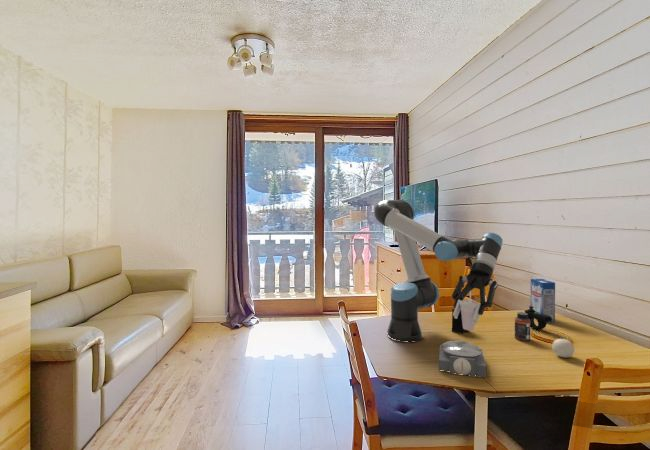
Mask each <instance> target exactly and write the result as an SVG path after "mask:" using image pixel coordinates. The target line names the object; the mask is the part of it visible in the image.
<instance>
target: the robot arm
mask: <svg viewBox="0 0 650 450" xmlns="http://www.w3.org/2000/svg"><path fill="white" fill-rule="evenodd" d="M373 213H374V217H375V220H377V222H378V223H380V224H381V225H383V226H384V227H386V228H389V229H390V230H391V231H393V232H394V234H395V238H396V241H397V244H398V247H399V251H400V252H399V253H400V255H401V260H402V262H403V265H404V269H405V273H406V276H407V279H406V282H400V283H396V284H394V285H393V286H392V287H391V291H390V312H391V313H390V316H391V317H390V318H391V319H390V322H389V325H388V328H387V333H388V334H387V336H388V335H389V336H390V337H391V338H393V339H396V340H400V341H408V342H410V343H413V342H412V341H417V342H419V341H421V340H422V339H423V333H422V329H421V327H420V323H419V320H418V319H419V318H418V316H419V315H418V314H419V313H418V312H419V311H420V310H424V309H426V308H430V307H432V306H433V305H435V304H436V303H437V302H438V300H439V298H440V289H439V287H438V285H437V284H435V283H434V281H432V280H431V276H430V275H428V274H426V270H425V267H424V264H423V261H422V258H421V255H420V251H419V248H418V244H419V245H421V246H423V247H424V248H426V249H428V250H430V251H432V252H433V253H434V255H435V256H436V258H437V259H438V260H439V261H444V262H445V261H447V262H450V261H454V260H457V259H463V258H474V261H473V262H472V265H471V268H470V270H469V274H468V275H467V276H462V275H459V276H458V282H457V284H456V286H455V287H454V290H453V292H452V294H451V298H452V300H453V301H454V303H453V309H455V310H454V312H453V316H454V318H455V319H457V317H458V315H459V312H460V310H461V306H460V304H459V303H460V301H461V300H465V298H466V297H467V296H468V295H469V294H470V291H471V292H472V290H474V289H477V290H479V301H480V302H479V304H478V305H477V307H476V310H475V313H474V316H473V319H472V320H473V322H474V323H475V325H476V324H478V321H479V318H480V316H482V315H483V314H484V312H485V308H492V306H493V301H494V297H495V293H496V290H497V289H498V286H499V285H498V282H497V280H491V278H492V276H493V273H494V270H495V267H496V264H497V261H498V258H499V255H500V252H501V250H502V246H503V242H504V241H503V238H502V237H501V235H499V234H498V233H495V232H487V233H485V234H484V233H483V236H482V237H481V238H473V239H472V238H471V239H470V238H458V239H452V240H451V239H450V238H447V237H445V236H444V235H442V234H441V233H438V232H436V231H434V230H432V229H431V228H428V227H427V226H425V225H423V224H421V223H419V222H417V221H415V220H414V218H415V214H416V212H415V207H414V205H413V204H412V203H410V201H408V200H404V199H383V200H381V201H379V202H378V203H377V204H376V205H375V207H374V212H373ZM417 243H418V244H417ZM464 285H465V286H464ZM488 286H489V289H488V294H487V297H486V289H485V288H486V287H488ZM421 338H422V339H421ZM420 339H421V340H420ZM418 340H419V341H418Z"/></svg>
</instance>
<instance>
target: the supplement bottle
mask: <svg viewBox="0 0 650 450" xmlns="http://www.w3.org/2000/svg"><path fill="white" fill-rule="evenodd" d="M516 314H517V315H516V317H515V318H514V339H517V341H523V342H529V341H530V340H531V327H530V319H529V318H528V314H527V313H525V311H524V312H523V311H522V312H521V311H518V312H517V313H516Z"/></svg>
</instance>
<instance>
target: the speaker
mask: <svg viewBox="0 0 650 450" xmlns="http://www.w3.org/2000/svg"><path fill="white" fill-rule="evenodd" d="M451 310H452V311H451V312H452V315H451V332H453V333H459V334H465V332H469V331H470V330H465V329H463V324H462V315H461V309H460V312H459V315H458V317H457V319H455V318H454V316H453V312H454V310H455V309H454V308H452V309H451Z"/></svg>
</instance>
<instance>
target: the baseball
mask: <svg viewBox="0 0 650 450" xmlns="http://www.w3.org/2000/svg"><path fill="white" fill-rule="evenodd" d="M551 345H552V351H553V352H554V353H555V355H557V356H558V357H561V358H567V359H568V358H571V357H572V356H573V355H574V353H575V346H574V344H573V343H572V342H571V341H570V340H568V339H565V338H557V339H555V340H554V341H553V342H552V344H551Z"/></svg>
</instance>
